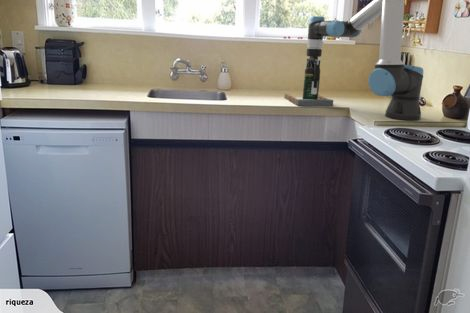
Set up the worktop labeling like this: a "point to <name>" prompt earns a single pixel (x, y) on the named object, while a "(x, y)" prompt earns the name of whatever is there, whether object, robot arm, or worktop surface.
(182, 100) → the worktop surface
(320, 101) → the end stop
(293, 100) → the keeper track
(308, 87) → the coffee jar
